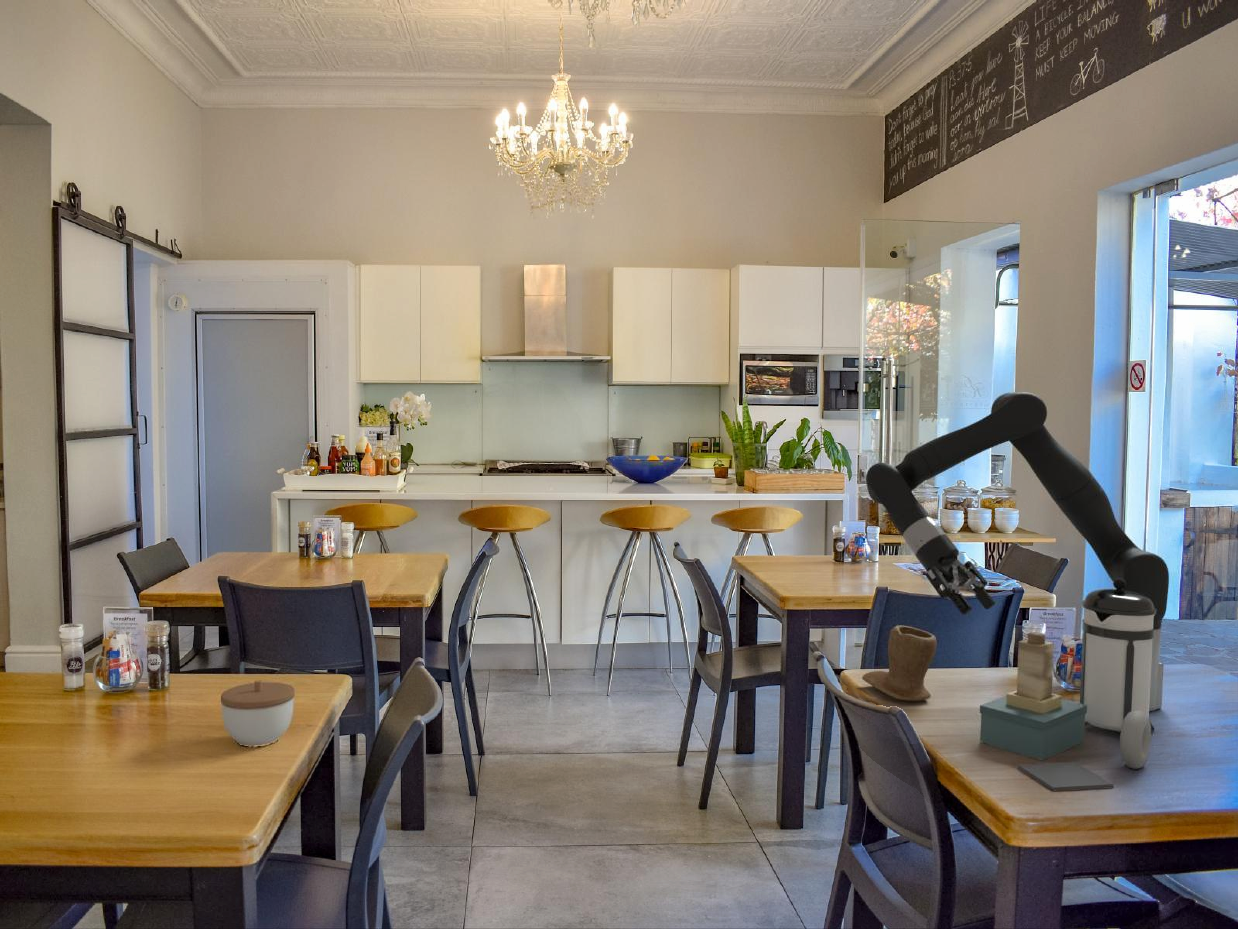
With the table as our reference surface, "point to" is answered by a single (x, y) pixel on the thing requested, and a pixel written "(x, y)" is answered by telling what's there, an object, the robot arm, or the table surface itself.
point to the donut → (1135, 739)
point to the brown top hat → (905, 664)
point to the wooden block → (1035, 667)
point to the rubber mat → (1065, 776)
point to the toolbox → (1033, 724)
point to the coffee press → (1116, 655)
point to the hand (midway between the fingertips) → (979, 609)
